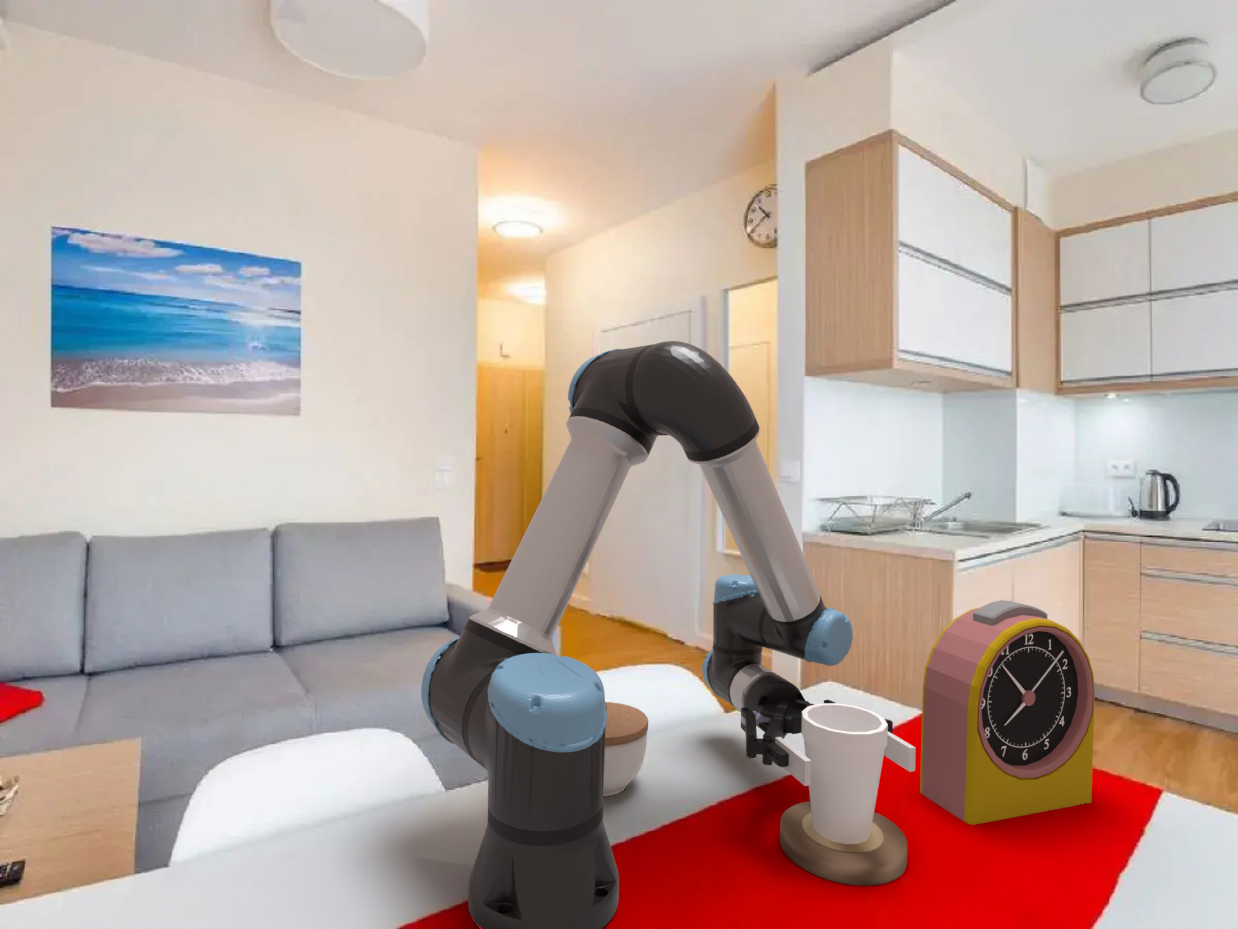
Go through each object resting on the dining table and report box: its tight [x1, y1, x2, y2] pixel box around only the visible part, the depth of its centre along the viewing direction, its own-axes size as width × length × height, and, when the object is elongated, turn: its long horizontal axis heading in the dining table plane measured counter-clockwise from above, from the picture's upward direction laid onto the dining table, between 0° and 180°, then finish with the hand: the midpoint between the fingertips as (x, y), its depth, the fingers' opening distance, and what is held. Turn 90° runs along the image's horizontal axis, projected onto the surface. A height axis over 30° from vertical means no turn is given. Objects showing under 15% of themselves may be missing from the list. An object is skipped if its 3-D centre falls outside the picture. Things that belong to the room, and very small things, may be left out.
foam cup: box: [801, 702, 888, 844], centre depth 80 cm, size 10×9×13 cm
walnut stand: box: [779, 801, 908, 886], centre depth 80 cm, size 14×14×2 cm
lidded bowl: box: [603, 701, 649, 798], centre depth 95 cm, size 13×13×11 cm
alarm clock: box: [919, 599, 1096, 826], centre depth 93 cm, size 21×9×26 cm, turn 108°
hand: (861, 766), depth 77 cm, fingers open, 13 cm apart
